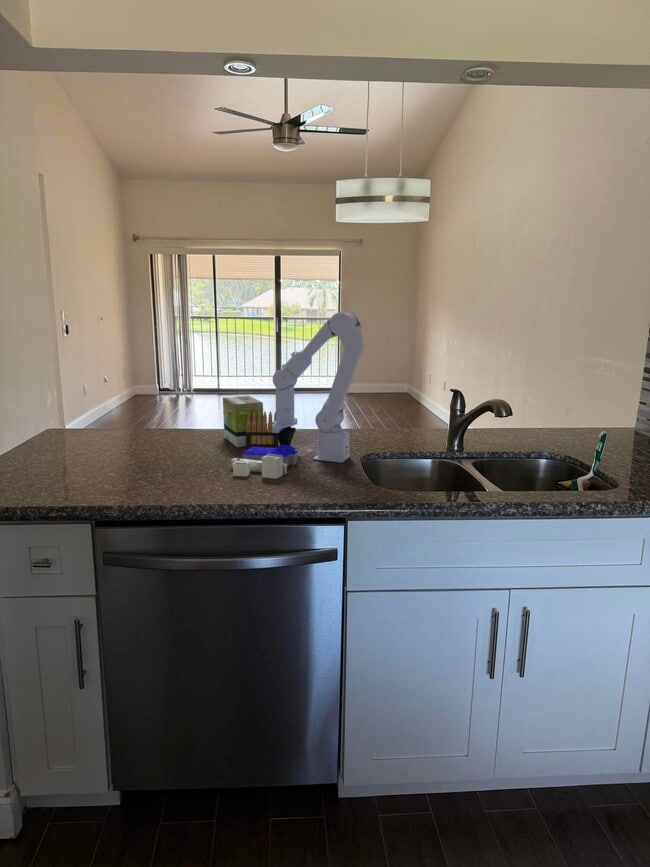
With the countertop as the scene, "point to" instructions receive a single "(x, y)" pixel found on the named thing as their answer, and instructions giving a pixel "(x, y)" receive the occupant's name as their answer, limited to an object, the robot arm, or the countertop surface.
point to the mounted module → (272, 466)
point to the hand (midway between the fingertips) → (285, 450)
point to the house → (284, 450)
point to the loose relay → (241, 468)
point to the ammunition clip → (260, 431)
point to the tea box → (239, 417)
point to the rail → (257, 465)
